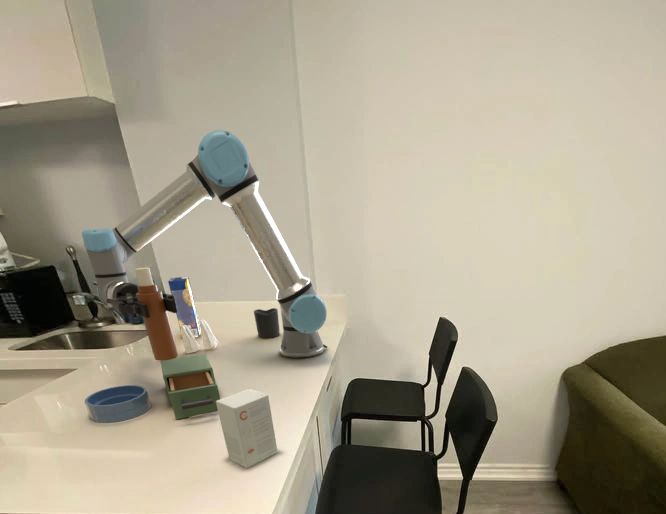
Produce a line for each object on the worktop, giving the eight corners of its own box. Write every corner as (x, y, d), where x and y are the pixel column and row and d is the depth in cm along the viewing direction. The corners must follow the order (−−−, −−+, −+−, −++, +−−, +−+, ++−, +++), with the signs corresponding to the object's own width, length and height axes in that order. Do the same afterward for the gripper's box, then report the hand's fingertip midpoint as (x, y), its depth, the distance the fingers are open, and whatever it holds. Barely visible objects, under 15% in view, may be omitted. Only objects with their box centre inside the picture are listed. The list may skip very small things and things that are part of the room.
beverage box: (200, 330, 187) (188, 276, 176) (199, 336, 178) (186, 280, 167) (184, 332, 186) (170, 277, 174) (182, 338, 176) (168, 281, 165)
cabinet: (218, 397, 118) (212, 367, 114) (171, 405, 114) (162, 375, 110) (211, 380, 130) (205, 353, 126) (168, 387, 126) (160, 359, 122)
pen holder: (270, 339, 170) (266, 313, 165) (252, 337, 174) (248, 311, 169) (285, 334, 177) (282, 308, 171) (268, 332, 181) (264, 307, 176)
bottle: (182, 354, 107) (159, 266, 96) (171, 360, 102) (146, 269, 92) (162, 354, 107) (137, 267, 97) (150, 360, 103) (123, 270, 93)
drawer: (225, 416, 105) (219, 390, 101) (177, 426, 101) (169, 399, 97) (214, 392, 119) (209, 368, 116) (172, 399, 115) (165, 375, 112)
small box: (259, 444, 93) (249, 387, 86) (278, 452, 89) (269, 394, 83) (228, 459, 88) (214, 400, 81) (247, 469, 84) (234, 408, 78)
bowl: (162, 402, 116) (157, 385, 114) (131, 425, 104) (124, 406, 102) (114, 401, 118) (108, 384, 116) (79, 424, 106) (71, 405, 103)
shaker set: (218, 346, 164) (212, 316, 158) (219, 349, 160) (213, 319, 154) (185, 351, 160) (178, 320, 154) (186, 353, 157) (178, 323, 151)
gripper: (167, 307, 117) (203, 318, 102) (94, 319, 107) (122, 334, 92) (159, 277, 113) (196, 285, 98) (83, 287, 103) (110, 297, 88)
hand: (160, 308), depth 95 cm, fingers closed on bottle, 5 cm apart
